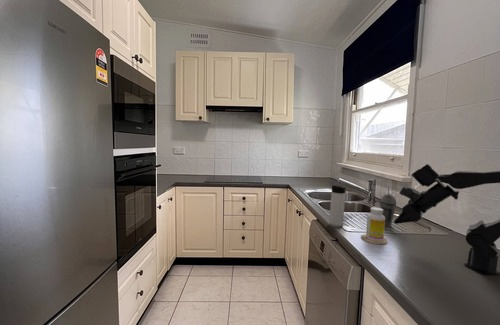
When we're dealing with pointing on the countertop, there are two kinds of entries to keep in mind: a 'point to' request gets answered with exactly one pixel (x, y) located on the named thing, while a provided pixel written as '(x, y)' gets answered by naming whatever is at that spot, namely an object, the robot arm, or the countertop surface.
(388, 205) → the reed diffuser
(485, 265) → the robot arm
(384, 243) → the coaster
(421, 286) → the countertop surface
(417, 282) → the countertop surface
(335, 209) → the travel mug
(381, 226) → the supplement bottle
